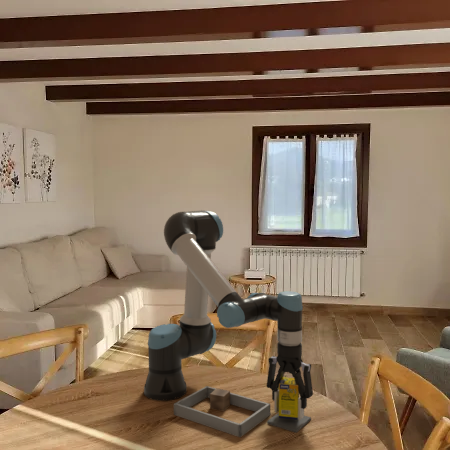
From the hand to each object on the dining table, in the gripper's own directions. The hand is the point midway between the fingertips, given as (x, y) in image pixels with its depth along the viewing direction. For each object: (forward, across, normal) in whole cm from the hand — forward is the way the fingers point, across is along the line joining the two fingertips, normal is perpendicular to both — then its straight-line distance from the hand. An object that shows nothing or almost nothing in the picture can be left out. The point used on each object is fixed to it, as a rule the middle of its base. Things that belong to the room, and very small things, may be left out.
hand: (289, 414), depth 154 cm
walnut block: (+3, -24, -4) cm, 24 cm away
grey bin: (+2, -20, -8) cm, 22 cm away
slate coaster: (+2, 0, 0) cm, 2 cm away
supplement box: (0, 0, 0) cm, 0 cm away
